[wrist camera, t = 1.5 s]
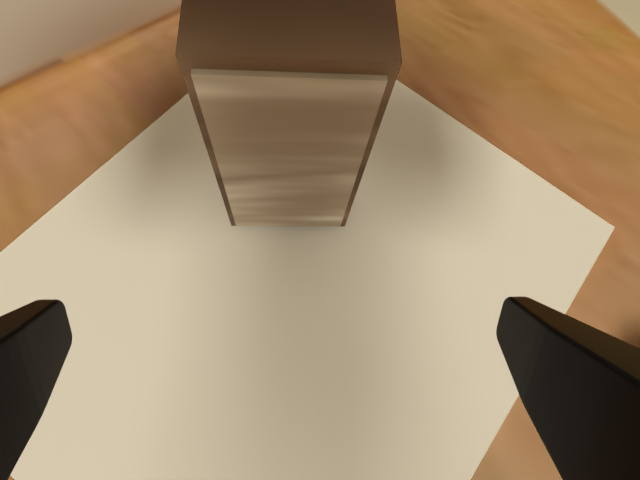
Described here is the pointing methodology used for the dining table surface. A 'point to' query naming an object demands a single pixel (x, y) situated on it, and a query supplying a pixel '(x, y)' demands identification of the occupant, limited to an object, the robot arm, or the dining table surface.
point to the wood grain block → (289, 100)
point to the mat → (292, 311)
